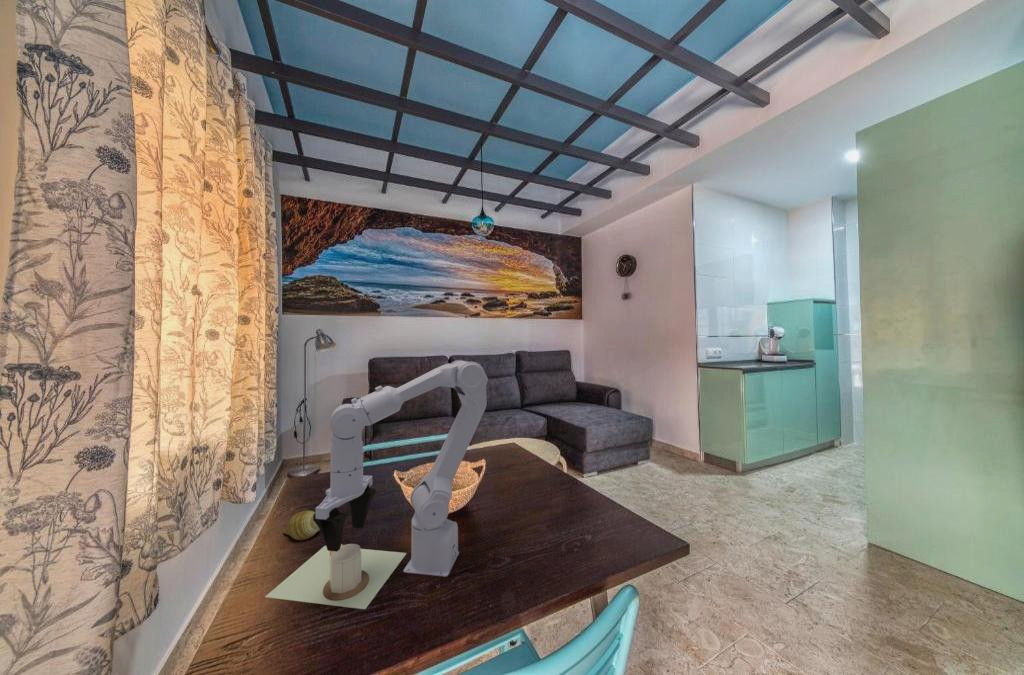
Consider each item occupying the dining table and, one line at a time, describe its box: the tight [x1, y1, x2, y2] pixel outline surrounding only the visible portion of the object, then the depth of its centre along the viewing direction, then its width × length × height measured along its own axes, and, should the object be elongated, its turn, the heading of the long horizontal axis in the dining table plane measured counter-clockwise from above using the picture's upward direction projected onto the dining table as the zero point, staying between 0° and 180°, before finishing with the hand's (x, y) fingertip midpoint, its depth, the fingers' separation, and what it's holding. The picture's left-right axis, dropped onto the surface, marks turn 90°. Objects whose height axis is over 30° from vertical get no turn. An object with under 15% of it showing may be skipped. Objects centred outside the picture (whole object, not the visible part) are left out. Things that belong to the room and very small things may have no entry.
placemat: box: [264, 545, 407, 610], centre depth 69 cm, size 20×16×1 cm
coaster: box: [323, 570, 369, 601], centre depth 65 cm, size 8×8×1 cm
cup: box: [330, 543, 362, 594], centre depth 65 cm, size 5×5×6 cm
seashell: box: [282, 510, 321, 541], centre depth 83 cm, size 10×7×8 cm
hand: (346, 537), depth 65 cm, fingers open, 7 cm apart
